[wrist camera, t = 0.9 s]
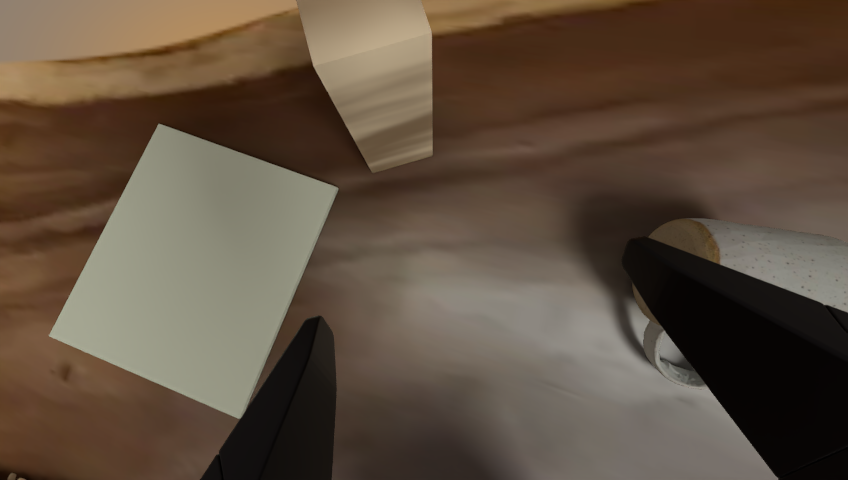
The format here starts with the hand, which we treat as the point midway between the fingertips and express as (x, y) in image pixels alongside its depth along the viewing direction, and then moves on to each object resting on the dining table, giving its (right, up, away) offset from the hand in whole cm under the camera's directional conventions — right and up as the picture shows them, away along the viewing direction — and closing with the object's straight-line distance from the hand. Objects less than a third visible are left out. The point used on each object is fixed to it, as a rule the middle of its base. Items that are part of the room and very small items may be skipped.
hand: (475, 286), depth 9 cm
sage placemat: (-19, 0, +15) cm, 24 cm away
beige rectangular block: (-4, +9, +16) cm, 19 cm away
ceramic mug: (+17, -3, +14) cm, 22 cm away
